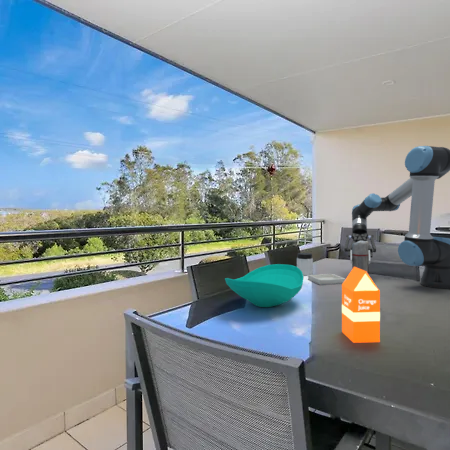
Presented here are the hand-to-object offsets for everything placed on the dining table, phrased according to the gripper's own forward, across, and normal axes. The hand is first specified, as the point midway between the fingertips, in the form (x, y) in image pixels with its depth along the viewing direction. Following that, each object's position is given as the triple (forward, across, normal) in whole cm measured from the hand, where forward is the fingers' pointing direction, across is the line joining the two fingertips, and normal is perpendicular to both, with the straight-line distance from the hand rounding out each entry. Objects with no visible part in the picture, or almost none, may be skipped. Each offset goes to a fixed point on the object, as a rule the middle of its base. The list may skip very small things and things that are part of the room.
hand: (360, 261), depth 175 cm
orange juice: (+64, +2, +48) cm, 80 cm away
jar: (-3, +29, -18) cm, 34 cm away
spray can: (+5, 0, -9) cm, 10 cm away
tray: (+9, +16, -6) cm, 20 cm away
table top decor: (+46, +36, +31) cm, 66 cm away
